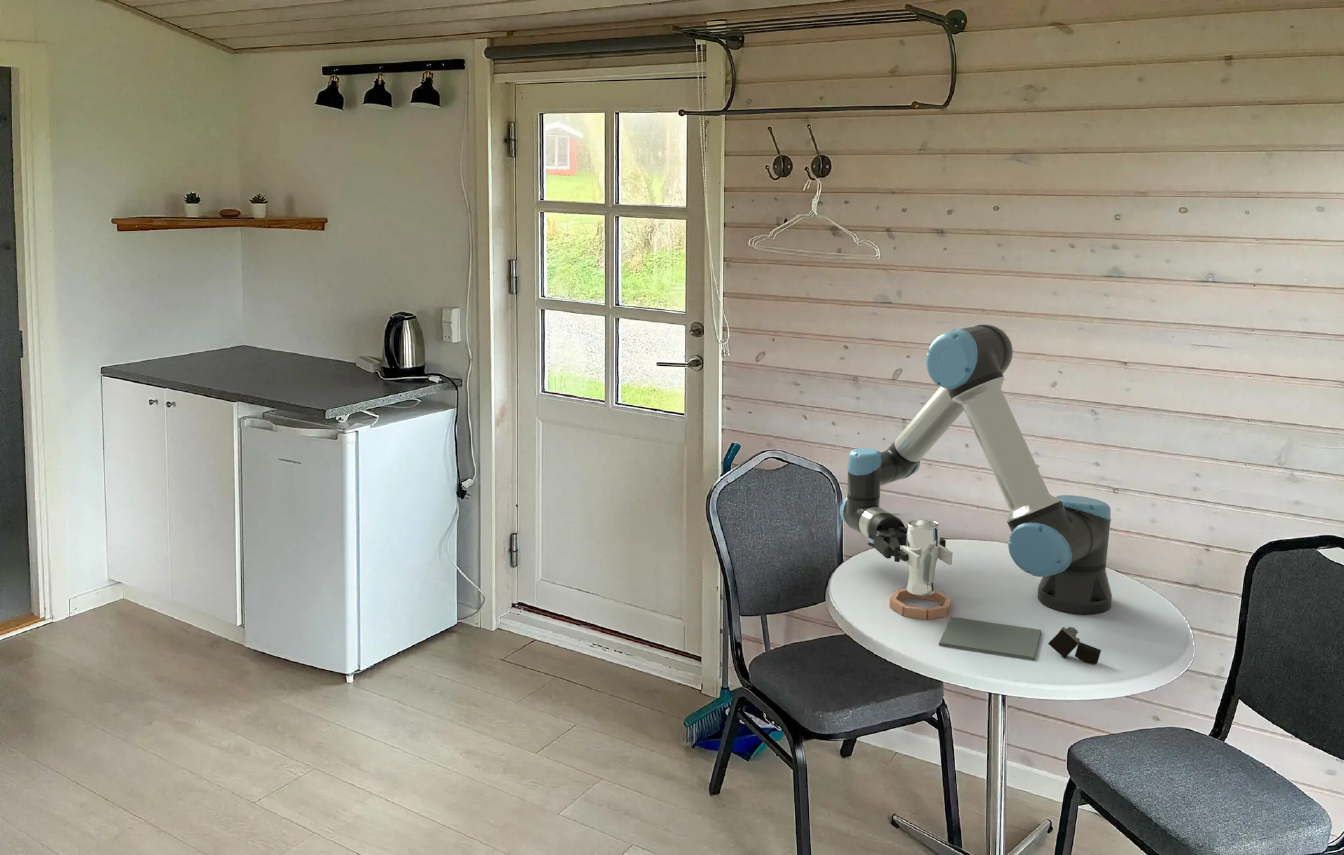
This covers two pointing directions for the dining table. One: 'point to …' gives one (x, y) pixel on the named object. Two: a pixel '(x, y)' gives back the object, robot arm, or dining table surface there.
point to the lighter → (1068, 641)
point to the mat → (991, 638)
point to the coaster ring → (917, 611)
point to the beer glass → (923, 555)
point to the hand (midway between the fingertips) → (934, 560)
